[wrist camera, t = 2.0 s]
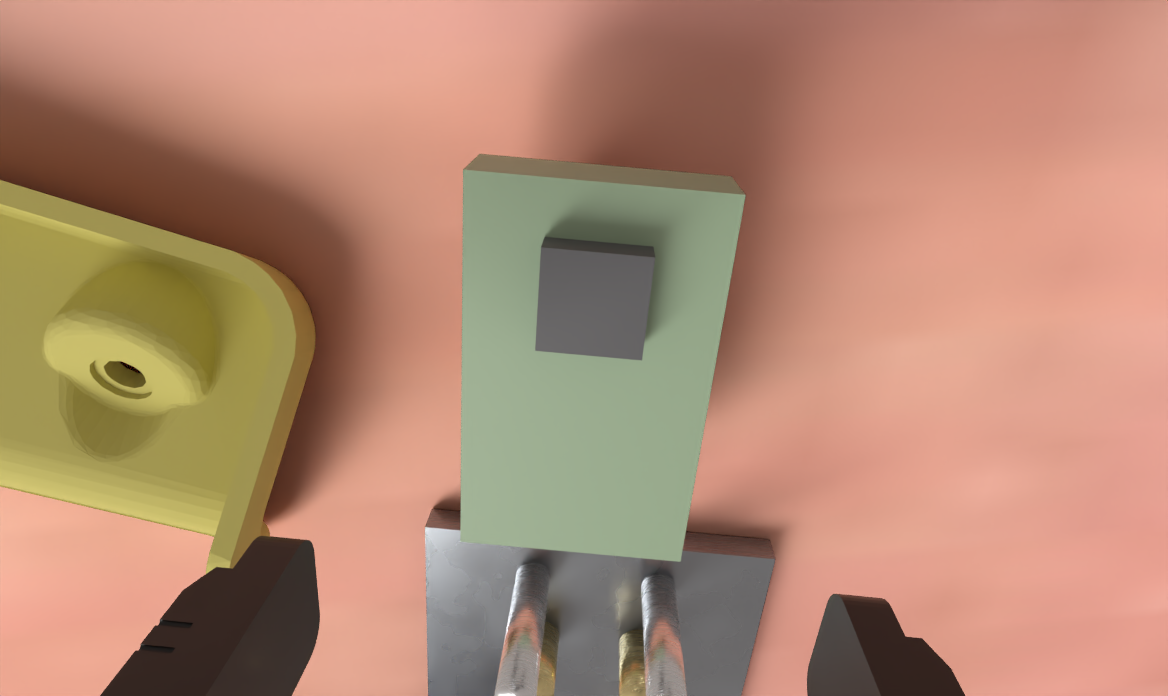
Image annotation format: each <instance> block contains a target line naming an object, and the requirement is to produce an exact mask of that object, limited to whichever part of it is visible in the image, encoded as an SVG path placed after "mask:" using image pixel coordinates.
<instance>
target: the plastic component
mask: <svg viewBox="0 0 1168 696" xmlns="http://www.w3.org/2000/svg"><path fill="white" fill-rule="evenodd" d="M315 340H316V334H315V325H314V321H313V317H312V314H311V311H310V308H309V305H308V303H307V302H306V300H305V298H304V297H303V295H302V293H301V292H300V291H299V289H298V288H297V287H296V286H295V285H294V283H293V282H292V281H291V280H290V279H289V278H288V277H287V276H285V275H284V274H283V273H281V272H280V271H279V270H277V269H276V268H274V267H272V266H270V265H268V264H266V263H264V262H263V261H261V260H258V259H255V258H252V257H249V256H246V255H243V254H240V253H237V252H234V251H231V250H228V249H225V248H221V247H218V246H215V245H212V244H208V243H205V242H202V241H199V240H195V239H192V238H189V237H185V236H182V235H179V234H176V233H172V232H169V231H166V230H163V229H159V228H156V227H153V226H149V225H146V224H143V223H140V222H136V221H133V220H130V219H127V218H123V217H120V216H117V215H113V214H110V213H107V212H104V211H100V210H97V209H94V208H91V207H87V206H84V205H81V204H77V203H74V202H71V201H68V200H64V199H61V198H58V197H55V196H51V195H48V194H45V193H41V192H38V191H35V190H32V189H28V188H25V187H22V186H19V185H15V184H12V183H9V182H5V181H2V180H0V486H1V487H5V488H10V489H14V490H18V491H22V492H27V493H31V494H35V495H39V496H44V497H48V498H52V499H57V500H61V501H65V502H69V503H74V504H78V505H82V506H86V507H91V508H95V509H99V510H103V511H108V512H112V513H116V514H120V515H125V516H129V517H133V518H138V519H142V520H146V521H150V522H155V523H159V524H163V525H167V526H172V527H176V528H180V529H184V530H189V531H193V532H197V533H202V534H206V535H210V536H213V537H214V540H213V543H212V547H211V550H210V553H209V557H208V562H207V568H206V574H207V573H208V572H210V571H211V570H213V569H214V568H215V567H222V568H232V569H233V568H234V566H235V565H236V564H237V562H238V561H239V559H240V558H241V557H242V555H243V554H244V553H245V551H246V550H247V548H248V547H249V546H250V544H251V543H252V542H253V541H254V540H255V539H256V538H257V537H259V536H270V532H269V529H268V527H267V525H266V524H265V523H264V522H263V517H264V513H265V509H266V506H267V503H268V500H269V496H270V493H271V490H272V487H273V484H274V480H275V477H276V474H277V471H278V468H279V464H280V461H281V458H282V455H283V452H284V449H285V445H286V442H287V439H288V436H289V433H290V429H291V426H292V423H293V420H294V417H295V413H296V410H297V407H298V404H299V401H300V397H301V394H302V391H303V388H304V385H305V381H306V378H307V375H308V372H309V369H310V365H311V362H312V359H313V355H314V351H315ZM119 361H122V362H124V363H126V364H129V365H131V366H133V367H135V368H136V369H138V370H139V371H140V372H141V373H137V372H134V371H132V370H130V369H127V368H126V367H125V366H123V365H122V364H121V363H120V362H119Z"/></svg>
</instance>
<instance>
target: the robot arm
mask: <svg viewBox="0 0 1168 696" xmlns="http://www.w3.org/2000/svg"><path fill="white" fill-rule="evenodd" d="M319 622H320V611H319V600H318V589H317V578H316V567H315V556H314V548H313V545H312V543H311V542H310V541H309V540H300V539H290V538H280V537H270V536H259V537H257V538H256V539H255V540H254V541H253V542H252V543H251V544H250V546H249V547H248V548H247V550H246V551H245V553H244V554H243V555H242V557H241V558H240V559H239V561H238V562H237V564H236V565H235V566H234V568H233V569H232V568H222V567H215V568H214V569H213V570H211V571H210V572H208V573H207V574H206V575H204V576H203V577H201V578H200V579H198V580H197V581H196V582H194V583H193V584H191V585H190V586H189V587H187V588H186V589H184V590H183V591H182V592H181V594H180V595H179V596H178V597H177V599H176V600H175V601H174V602H173V604H172V605H171V606H170V608H169V609H168V610H167V611H166V613H165V614H164V615H163V616H162V618H161V619H160V623H159V625H158V626H155V627H154V628H153V629H152V630H151V632H150V633H149V634H148V636H147V637H146V638H145V639H144V641H143V642H142V643H141V647H140V649H139V651H135V652H134V653H133V655H132V656H131V657H130V658H129V660H128V661H127V662H126V663H125V665H124V666H123V667H122V669H121V670H120V671H119V672H118V674H117V675H116V676H115V677H114V679H113V680H112V681H111V683H110V684H109V685H108V686H107V688H106V689H105V690H104V691H103V693H102V694H101V695H100V696H292V694H293V692H294V690H295V688H296V686H297V684H298V682H299V680H300V678H301V676H302V674H303V672H304V670H305V668H306V666H307V664H308V662H309V660H310V657H311V655H312V652H313V650H314V647H315V643H316V640H317V635H318V630H319ZM807 693H808V696H965V694H964V692H963V690H962V689H961V687H960V685H959V683H958V681H957V679H956V677H955V675H954V673H953V672H952V670H951V668H950V667H949V666H948V665H947V664H946V663H945V662H944V661H943V660H942V659H941V658H940V657H939V656H938V655H937V654H936V653H935V652H934V650H933V649H932V648H931V647H930V646H929V645H928V644H927V643H926V642H925V641H924V640H923V639H922V638H912V637H905V635H904V633H903V631H902V629H901V627H900V624H899V622H898V620H897V618H896V616H895V614H894V612H893V610H892V608H891V606H890V604H889V603H888V602H887V601H886V600H885V599H882V598H873V597H862V596H852V595H842V594H833V595H832V596H831V597H830V598H829V600H828V603H827V606H826V609H825V612H824V616H823V619H822V622H821V626H820V629H819V632H818V636H817V639H816V643H815V646H814V649H813V653H812V656H811V659H810V663H809V667H808V675H807Z"/></svg>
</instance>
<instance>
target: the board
mask: <svg viewBox="0 0 1168 696" xmlns="http://www.w3.org/2000/svg"><path fill="white" fill-rule="evenodd" d="M745 196H746V195H745V193H744V192H743V191H742V189H741V188H740V187H739V185H738V184H737V183H736V182H735V180H734V179H733V178H732V176H722V175H711V174H700V173H688V172H677V171H666V170H655V169H644V168H633V167H621V166H610V165H599V164H588V163H577V162H565V161H554V160H543V159H532V158H521V157H509V156H498V155H487V154H479V155H478V156H477V157H476V158H475V159H474V160H473V161H472V162H471V163H470V164H469V165H468V166H467V167H466V168H464V169H463V269H462V398H461V526H460V542H469V543H480V544H491V545H502V546H513V547H524V548H535V549H546V550H557V551H568V552H579V553H590V554H601V555H612V556H622V557H633V558H644V559H655V560H666V561H677V562H681V556H682V550H683V545H684V539H685V533H686V528H687V522H688V517H689V511H690V505H691V500H692V494H693V488H694V483H695V477H696V472H697V466H698V460H699V455H700V449H701V443H702V438H703V432H704V427H705V421H706V415H707V410H708V404H709V398H710V393H711V387H712V382H713V376H714V370H715V365H716V359H717V354H718V348H719V342H720V337H721V331H722V325H723V320H724V314H725V309H726V303H727V297H728V292H729V286H730V280H731V275H732V269H733V264H734V258H735V252H736V247H737V241H738V235H739V230H740V224H741V219H742V213H743V207H744V202H745Z"/></svg>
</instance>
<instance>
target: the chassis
mask: <svg viewBox="0 0 1168 696" xmlns="http://www.w3.org/2000/svg"><path fill="white" fill-rule="evenodd" d="M460 526H461V511H450V510H439V509H432V510H431V513H430V516H429V518H428V521H427V523H426V526H425V550H426V603H427V656H428V696H741V694H742V690H743V686H744V682H745V678H746V674H747V670H748V666H749V662H750V658H751V654H752V650H753V646H754V642H755V638H756V635H757V631H758V627H759V623H760V619H761V615H762V611H763V607H764V603H765V599H766V595H767V591H768V587H769V583H770V579H771V575H772V571H773V567H774V563H775V556H774V553H773V550H772V546H771V543H770V540H768V539H757V538H746V537H735V536H724V535H713V534H702V533H691V532H686V533H685V539H684V545H683V550H682V556H681V562H677V561H666V560H655V559H644V558H633V557H622V556H612V555H601V554H590V553H579V552H568V551H557V550H546V549H535V548H524V547H513V546H502V545H491V544H480V543H469V542H460Z"/></svg>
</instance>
